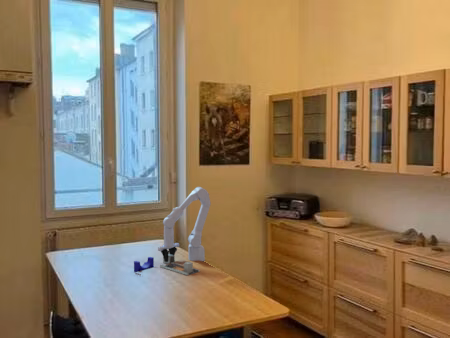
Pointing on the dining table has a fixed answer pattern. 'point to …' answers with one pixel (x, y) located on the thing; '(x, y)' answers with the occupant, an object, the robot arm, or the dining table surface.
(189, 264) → the small hollow grey box
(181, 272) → the rail
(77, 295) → the dining table surface
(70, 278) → the dining table surface
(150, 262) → the cable clip
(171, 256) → the pale grey block
